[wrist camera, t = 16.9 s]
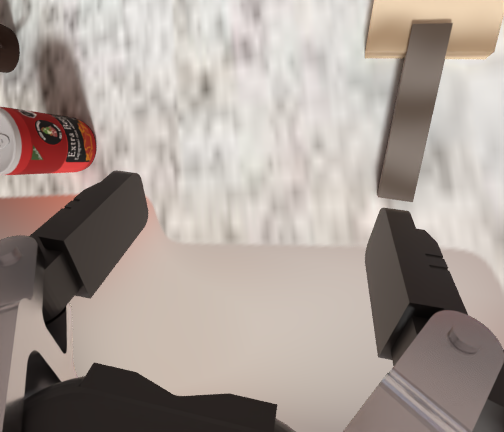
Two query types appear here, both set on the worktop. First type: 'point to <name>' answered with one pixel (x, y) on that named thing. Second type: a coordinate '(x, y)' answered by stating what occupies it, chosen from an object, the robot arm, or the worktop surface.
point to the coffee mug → (8, 49)
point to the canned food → (43, 143)
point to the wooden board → (424, 70)
